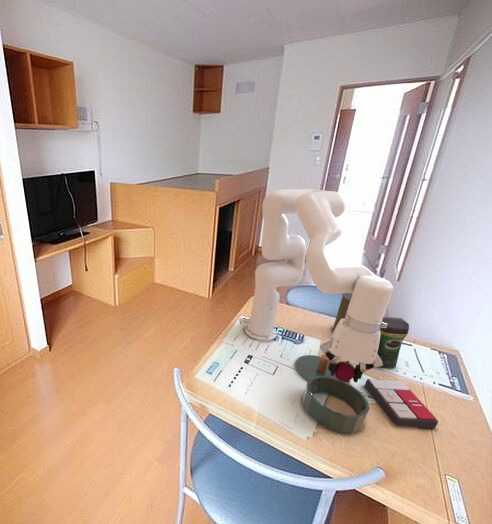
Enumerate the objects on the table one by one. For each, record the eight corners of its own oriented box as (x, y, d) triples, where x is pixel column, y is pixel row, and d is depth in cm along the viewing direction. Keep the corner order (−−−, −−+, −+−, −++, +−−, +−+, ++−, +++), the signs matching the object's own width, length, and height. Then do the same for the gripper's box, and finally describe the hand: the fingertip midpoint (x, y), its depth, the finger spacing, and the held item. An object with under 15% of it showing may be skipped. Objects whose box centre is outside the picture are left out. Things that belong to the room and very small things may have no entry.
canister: (334, 337, 126) (346, 294, 118) (330, 324, 135) (342, 283, 127) (365, 343, 122) (380, 299, 115) (359, 329, 131) (372, 288, 123)
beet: (332, 380, 86) (338, 363, 83) (331, 368, 90) (336, 352, 87) (353, 386, 84) (360, 369, 81) (351, 374, 88) (357, 358, 85)
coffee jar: (385, 356, 115) (400, 314, 108) (398, 370, 108) (416, 326, 101) (357, 354, 116) (371, 312, 109) (369, 368, 109) (385, 324, 102)
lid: (294, 381, 103) (298, 364, 100) (295, 352, 117) (299, 337, 114) (352, 398, 96) (358, 381, 93) (346, 366, 110) (351, 350, 107)
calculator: (399, 417, 85) (367, 376, 99) (393, 428, 87) (362, 386, 100) (440, 420, 84) (402, 378, 98) (434, 430, 86) (397, 388, 100)
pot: (302, 421, 88) (307, 404, 86) (302, 385, 101) (306, 369, 99) (366, 443, 82) (374, 426, 79) (358, 402, 95) (364, 386, 92)
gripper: (398, 323, 79) (376, 377, 86) (323, 307, 86) (309, 358, 93) (406, 339, 73) (381, 395, 80) (325, 320, 80) (309, 374, 87)
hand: (343, 375), depth 86 cm, fingers closed on beet, 5 cm apart
